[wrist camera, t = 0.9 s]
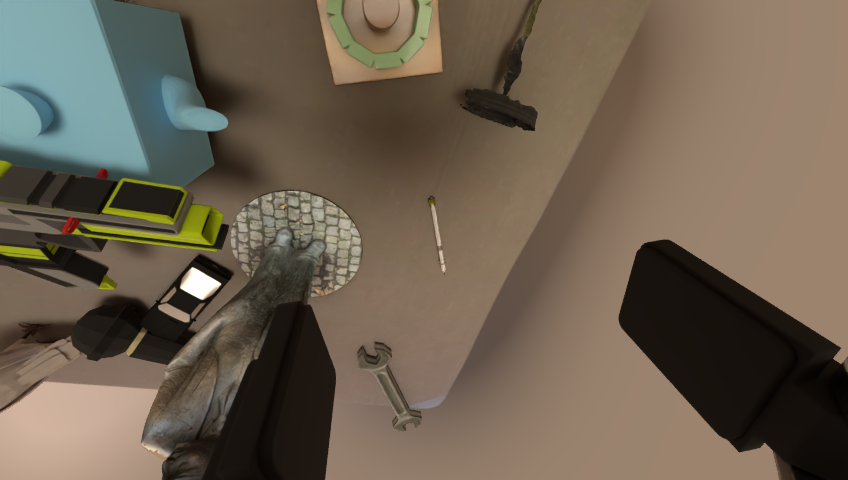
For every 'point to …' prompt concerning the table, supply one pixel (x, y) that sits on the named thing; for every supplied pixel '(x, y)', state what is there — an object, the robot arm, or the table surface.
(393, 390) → the wrench
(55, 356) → the bird
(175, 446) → the figurine
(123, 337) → the microphone
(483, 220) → the table surface
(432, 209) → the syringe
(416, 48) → the ring
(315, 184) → the table surface
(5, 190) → the toy gun
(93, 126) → the teapot
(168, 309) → the toy car
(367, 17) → the stand
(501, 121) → the artificial flower
